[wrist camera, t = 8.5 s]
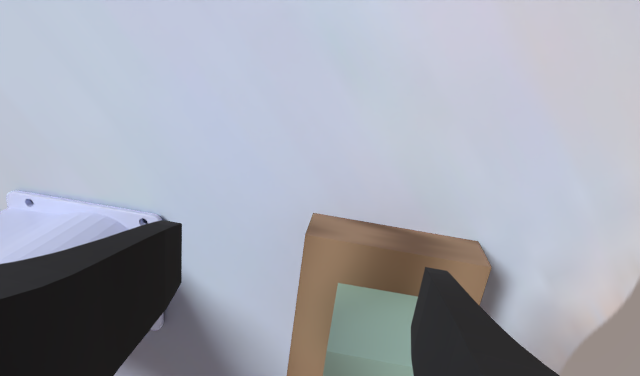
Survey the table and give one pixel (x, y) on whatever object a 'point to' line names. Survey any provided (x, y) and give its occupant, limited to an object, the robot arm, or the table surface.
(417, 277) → the walnut block
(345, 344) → the green cube
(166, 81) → the table surface
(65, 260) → the robot arm
